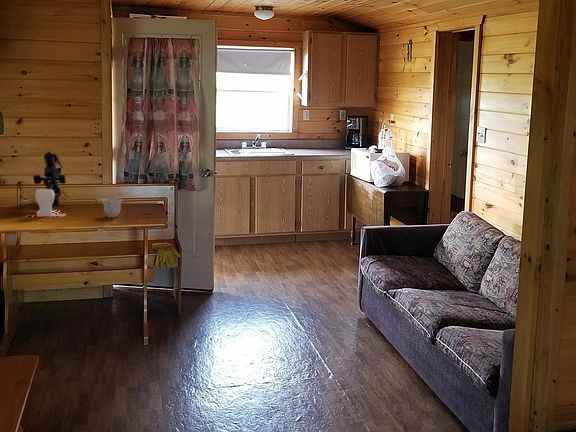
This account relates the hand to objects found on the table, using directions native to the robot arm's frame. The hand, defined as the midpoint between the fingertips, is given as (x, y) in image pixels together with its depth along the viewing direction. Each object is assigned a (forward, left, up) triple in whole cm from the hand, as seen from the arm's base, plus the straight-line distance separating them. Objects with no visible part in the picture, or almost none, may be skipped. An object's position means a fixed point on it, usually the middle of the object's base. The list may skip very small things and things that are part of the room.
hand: (48, 190), depth 435 cm
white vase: (+11, +14, -13) cm, 22 cm away
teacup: (-13, +45, -13) cm, 48 cm away
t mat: (+7, +9, -13) cm, 17 cm away
